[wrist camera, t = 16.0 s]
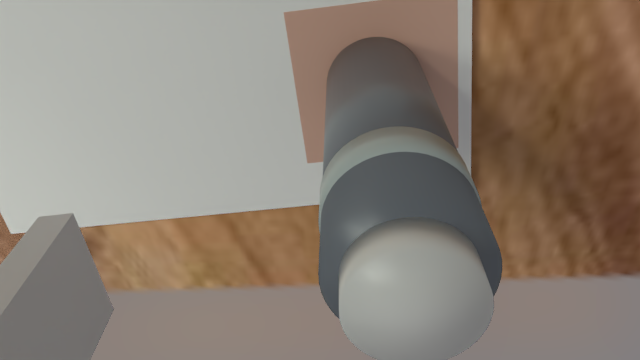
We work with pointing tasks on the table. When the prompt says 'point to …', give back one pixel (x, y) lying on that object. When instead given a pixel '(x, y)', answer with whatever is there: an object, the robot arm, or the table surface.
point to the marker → (399, 213)
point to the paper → (193, 100)
